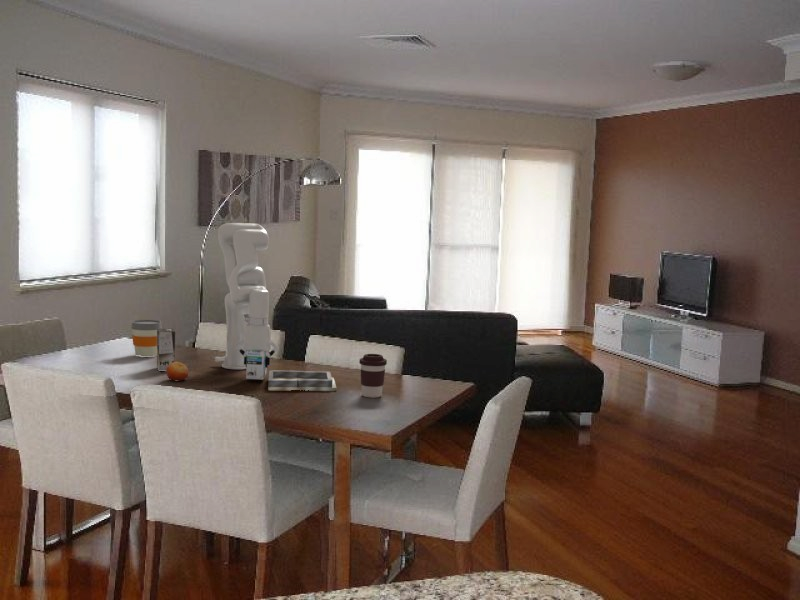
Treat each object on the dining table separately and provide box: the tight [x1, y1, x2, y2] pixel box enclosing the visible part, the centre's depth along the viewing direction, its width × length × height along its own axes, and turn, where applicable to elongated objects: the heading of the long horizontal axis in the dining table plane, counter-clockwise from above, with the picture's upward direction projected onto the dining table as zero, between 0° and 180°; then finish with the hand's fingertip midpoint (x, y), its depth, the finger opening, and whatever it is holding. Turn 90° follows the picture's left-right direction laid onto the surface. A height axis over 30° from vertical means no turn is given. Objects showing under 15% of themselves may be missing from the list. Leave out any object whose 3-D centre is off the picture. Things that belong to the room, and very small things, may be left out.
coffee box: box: [156, 327, 176, 371], centre depth 324 cm, size 9×6×16 cm
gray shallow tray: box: [267, 369, 337, 392], centre depth 307 cm, size 25×18×4 cm
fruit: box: [165, 361, 189, 381], centre depth 306 cm, size 8×8×8 cm
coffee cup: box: [359, 353, 388, 399], centre depth 294 cm, size 10×10×15 cm
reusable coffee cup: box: [131, 319, 163, 356], centre depth 350 cm, size 13×12×15 cm
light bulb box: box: [245, 351, 267, 380], centre depth 311 cm, size 11×7×11 cm, turn 3°
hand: (256, 366), depth 311 cm, fingers closed on light bulb box, 7 cm apart
